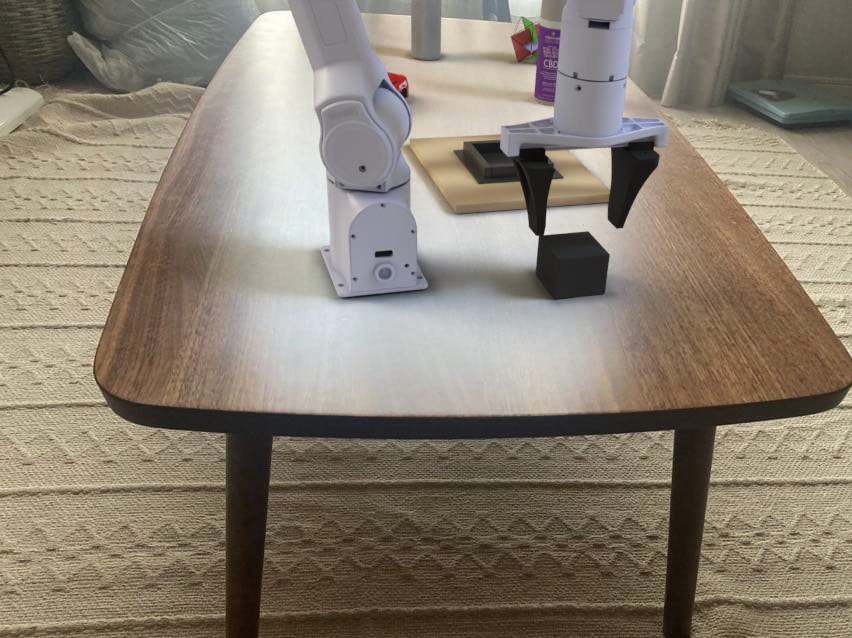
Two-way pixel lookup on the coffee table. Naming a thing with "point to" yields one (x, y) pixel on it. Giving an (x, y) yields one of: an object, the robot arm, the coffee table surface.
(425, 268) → the coffee table surface
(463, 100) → the coffee table surface
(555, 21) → the container
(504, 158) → the pad base
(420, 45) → the grey upright cylinder
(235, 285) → the coffee table surface
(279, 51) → the coffee table surface
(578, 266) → the black cube
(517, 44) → the geometric puzzle
